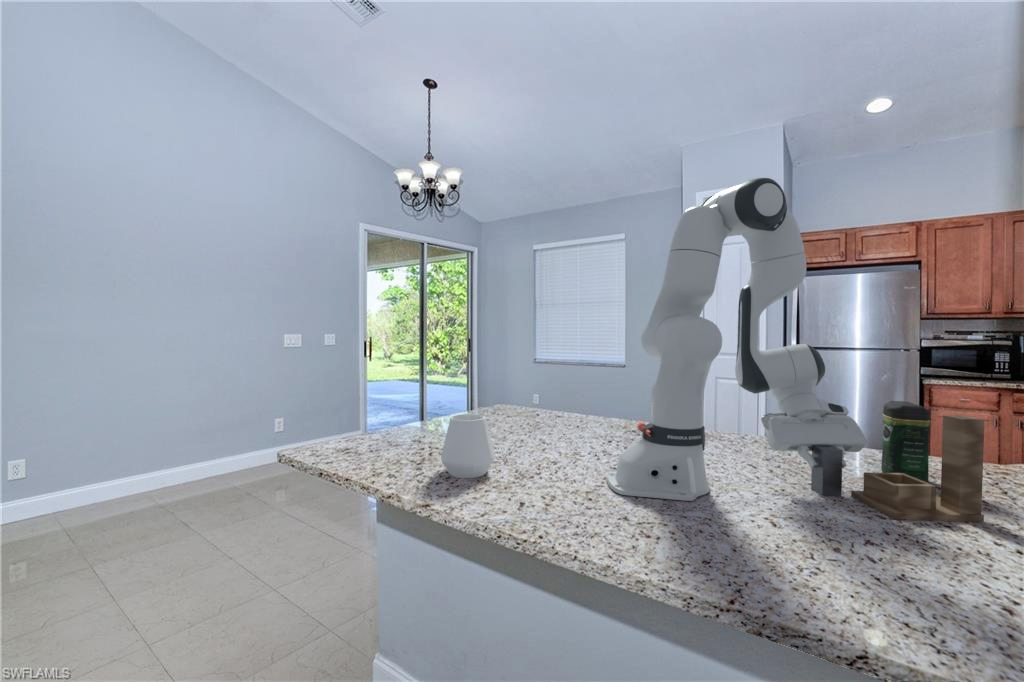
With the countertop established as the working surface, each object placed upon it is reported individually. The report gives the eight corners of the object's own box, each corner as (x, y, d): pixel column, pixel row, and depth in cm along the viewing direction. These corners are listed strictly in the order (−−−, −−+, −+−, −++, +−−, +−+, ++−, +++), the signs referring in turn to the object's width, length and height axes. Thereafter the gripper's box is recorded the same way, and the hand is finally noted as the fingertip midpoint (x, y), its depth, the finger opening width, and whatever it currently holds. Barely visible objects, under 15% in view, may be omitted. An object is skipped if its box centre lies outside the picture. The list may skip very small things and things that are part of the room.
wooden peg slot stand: (894, 519, 86) (897, 418, 86) (851, 496, 98) (853, 407, 98) (983, 521, 85) (987, 420, 85) (928, 497, 97) (931, 408, 97)
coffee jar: (934, 487, 104) (937, 406, 103) (891, 482, 107) (893, 404, 106) (915, 474, 113) (918, 400, 112) (876, 470, 116) (878, 398, 115)
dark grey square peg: (822, 495, 98) (823, 449, 98) (811, 489, 102) (812, 445, 102) (841, 496, 98) (842, 450, 98) (829, 489, 102) (830, 445, 102)
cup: (486, 462, 122) (486, 410, 122) (501, 478, 109) (501, 420, 109) (436, 466, 118) (436, 413, 118) (446, 483, 105) (446, 424, 105)
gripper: (763, 405, 107) (785, 458, 98) (853, 406, 106) (884, 460, 97) (754, 420, 112) (774, 472, 102) (840, 421, 111) (868, 474, 101)
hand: (828, 466), depth 99 cm, fingers closed on dark grey square peg, 4 cm apart
